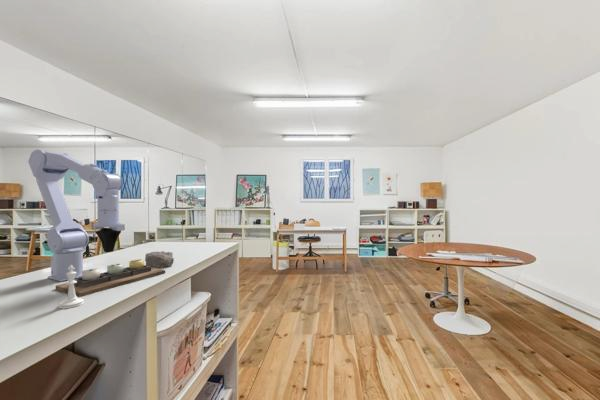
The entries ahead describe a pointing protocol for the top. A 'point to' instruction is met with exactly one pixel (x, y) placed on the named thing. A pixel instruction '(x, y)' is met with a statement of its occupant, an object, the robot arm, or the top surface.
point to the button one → (90, 274)
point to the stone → (159, 259)
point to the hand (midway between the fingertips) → (108, 251)
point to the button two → (115, 269)
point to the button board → (110, 280)
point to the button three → (136, 264)
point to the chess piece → (71, 292)
